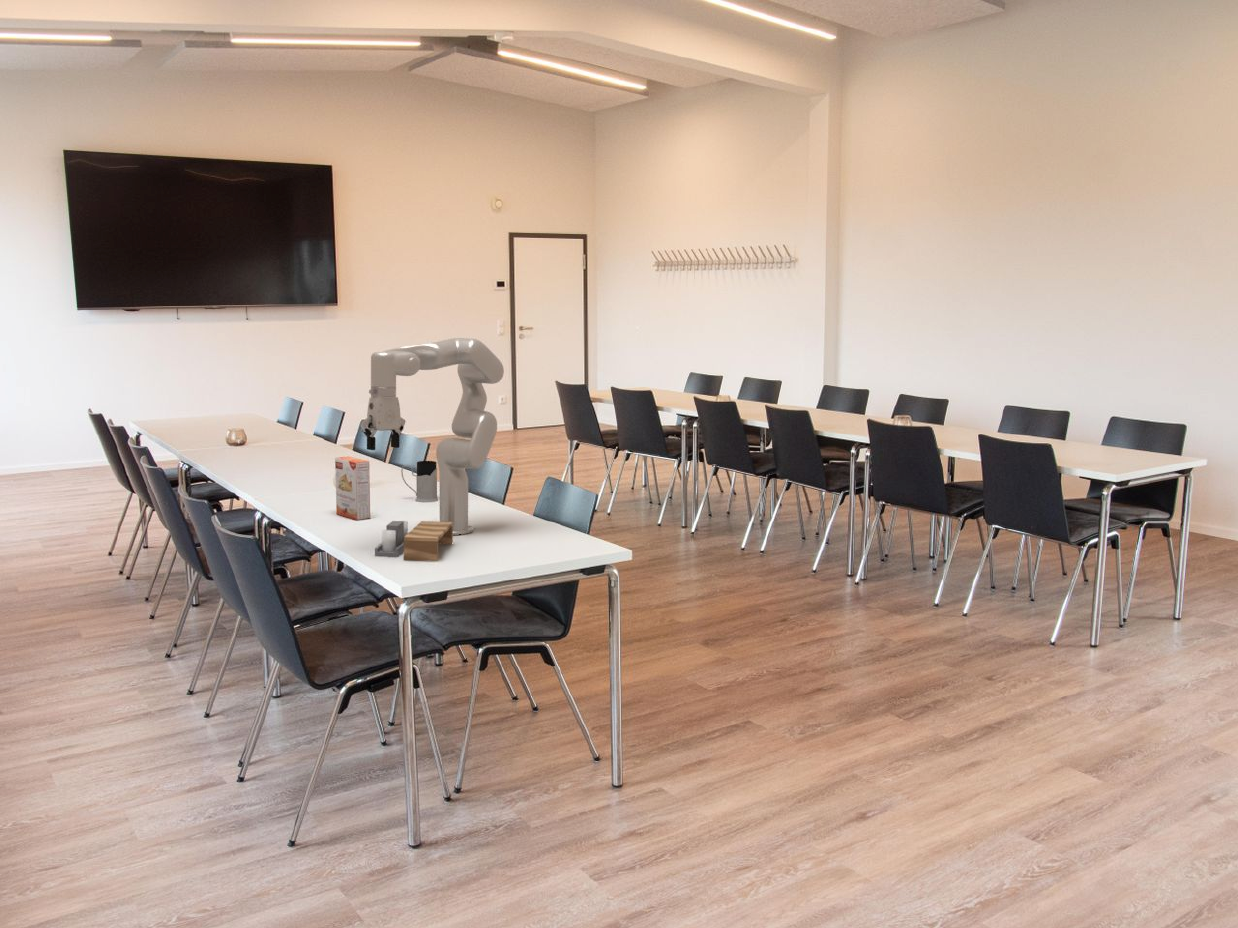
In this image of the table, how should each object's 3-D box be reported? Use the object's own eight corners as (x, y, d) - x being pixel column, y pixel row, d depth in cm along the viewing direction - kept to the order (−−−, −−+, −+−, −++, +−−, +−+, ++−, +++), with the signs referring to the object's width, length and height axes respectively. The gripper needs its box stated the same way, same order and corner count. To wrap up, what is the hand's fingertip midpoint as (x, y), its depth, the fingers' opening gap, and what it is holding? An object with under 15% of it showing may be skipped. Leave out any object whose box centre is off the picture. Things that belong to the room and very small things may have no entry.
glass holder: (435, 502, 409) (435, 464, 407) (399, 501, 409) (398, 463, 407) (440, 498, 417) (440, 460, 415) (404, 497, 418) (403, 459, 416)
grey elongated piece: (393, 542, 340) (392, 516, 339) (414, 543, 340) (414, 517, 338) (374, 557, 320) (374, 529, 319) (397, 557, 320) (397, 530, 319)
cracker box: (335, 514, 381) (334, 457, 378) (350, 512, 385) (349, 455, 382) (355, 521, 371) (354, 461, 368) (370, 518, 375) (370, 460, 372)
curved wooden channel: (421, 542, 340) (421, 521, 339) (452, 543, 339) (452, 522, 338) (403, 560, 316) (403, 537, 315) (437, 561, 315) (437, 538, 314)
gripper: (370, 394, 314) (369, 452, 316) (413, 392, 328) (412, 447, 330) (352, 393, 318) (352, 449, 320) (396, 391, 332) (395, 445, 335)
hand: (383, 448), depth 325 cm, fingers open, 9 cm apart
